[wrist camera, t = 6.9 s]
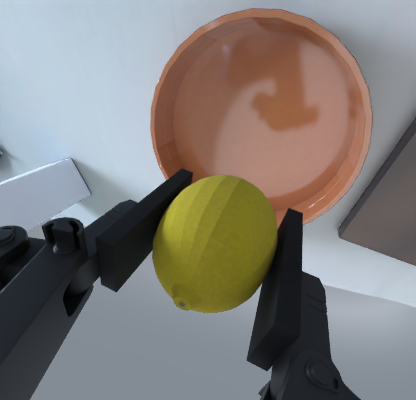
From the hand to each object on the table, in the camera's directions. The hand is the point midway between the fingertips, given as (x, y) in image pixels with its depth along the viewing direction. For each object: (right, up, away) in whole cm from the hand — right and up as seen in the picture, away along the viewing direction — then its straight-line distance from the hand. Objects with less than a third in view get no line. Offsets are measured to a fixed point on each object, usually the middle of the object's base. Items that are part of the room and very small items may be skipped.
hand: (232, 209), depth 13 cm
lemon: (+1, +1, +1) cm, 2 cm away
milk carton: (-27, +5, +28) cm, 39 cm away
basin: (+4, +8, +13) cm, 15 cm away
